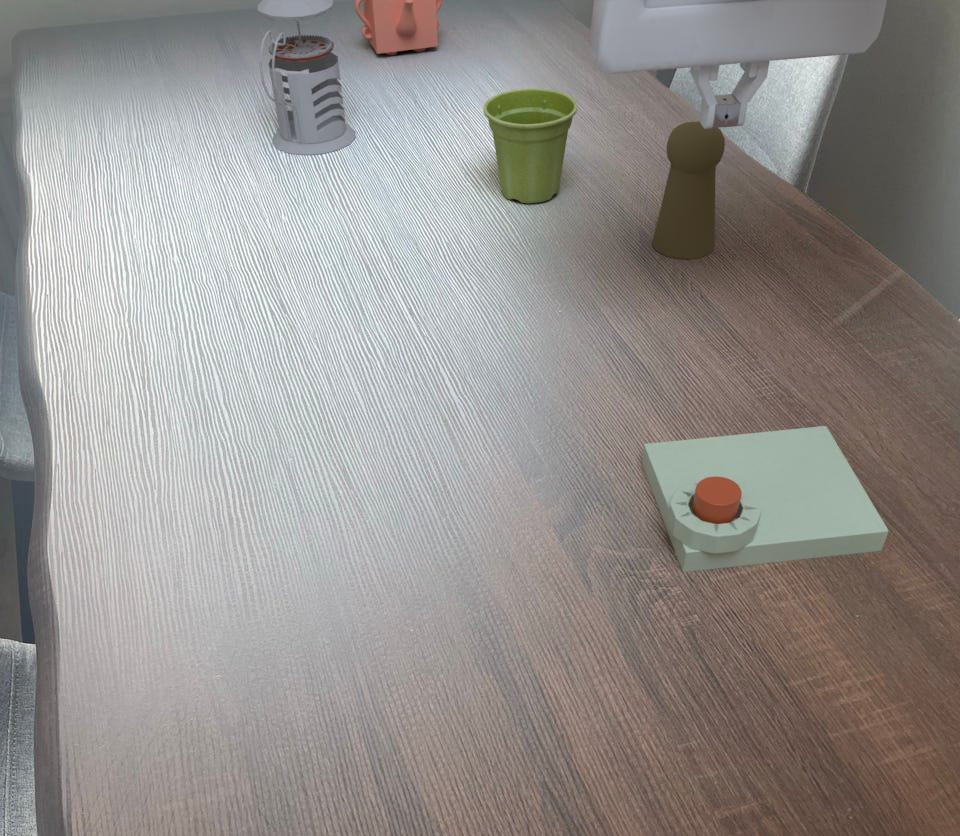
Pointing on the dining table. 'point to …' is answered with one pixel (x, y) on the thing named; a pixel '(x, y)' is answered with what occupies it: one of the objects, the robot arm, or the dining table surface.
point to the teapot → (400, 24)
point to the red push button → (716, 500)
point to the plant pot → (530, 140)
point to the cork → (689, 192)
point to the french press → (305, 83)
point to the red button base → (764, 499)
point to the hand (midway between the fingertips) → (721, 124)
